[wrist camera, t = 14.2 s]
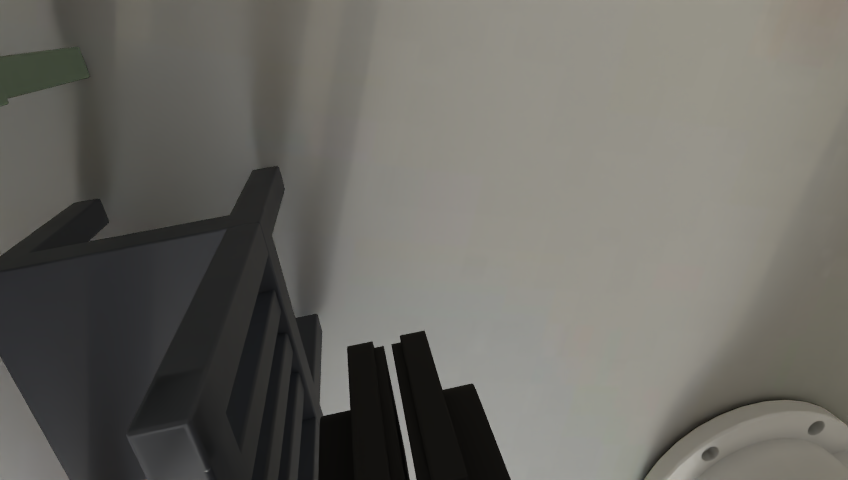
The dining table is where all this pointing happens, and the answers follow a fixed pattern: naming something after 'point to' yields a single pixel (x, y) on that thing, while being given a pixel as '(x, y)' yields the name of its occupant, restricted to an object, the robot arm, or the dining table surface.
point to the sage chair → (39, 71)
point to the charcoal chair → (165, 346)
